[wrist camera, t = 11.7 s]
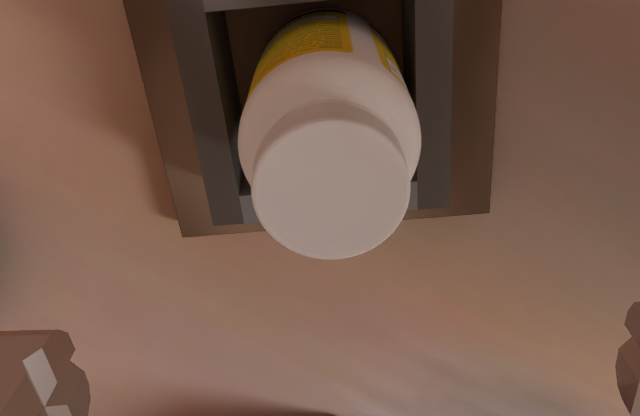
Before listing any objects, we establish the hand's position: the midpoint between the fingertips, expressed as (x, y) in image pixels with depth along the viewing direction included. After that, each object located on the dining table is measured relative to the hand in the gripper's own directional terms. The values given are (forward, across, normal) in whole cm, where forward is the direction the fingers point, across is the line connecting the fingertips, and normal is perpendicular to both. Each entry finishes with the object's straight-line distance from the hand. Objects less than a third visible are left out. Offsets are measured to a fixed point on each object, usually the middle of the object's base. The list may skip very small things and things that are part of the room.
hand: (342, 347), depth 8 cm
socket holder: (+17, +1, 0) cm, 17 cm away
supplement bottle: (+16, 0, +1) cm, 16 cm away
